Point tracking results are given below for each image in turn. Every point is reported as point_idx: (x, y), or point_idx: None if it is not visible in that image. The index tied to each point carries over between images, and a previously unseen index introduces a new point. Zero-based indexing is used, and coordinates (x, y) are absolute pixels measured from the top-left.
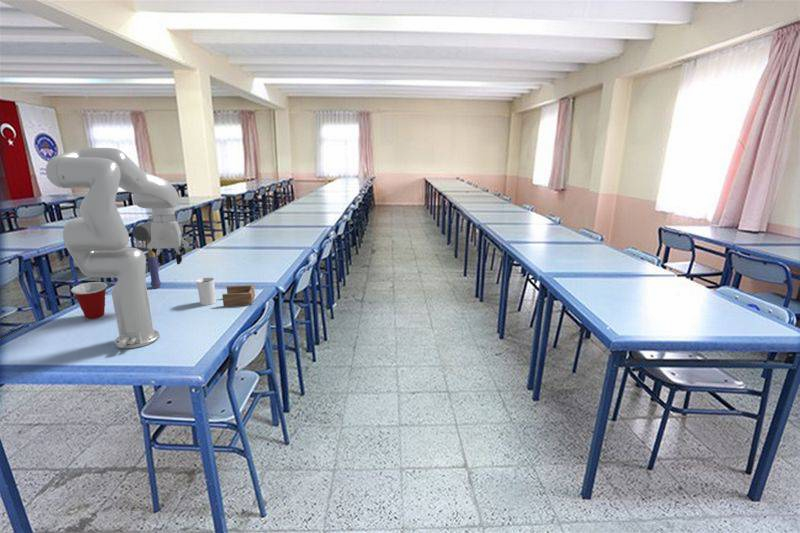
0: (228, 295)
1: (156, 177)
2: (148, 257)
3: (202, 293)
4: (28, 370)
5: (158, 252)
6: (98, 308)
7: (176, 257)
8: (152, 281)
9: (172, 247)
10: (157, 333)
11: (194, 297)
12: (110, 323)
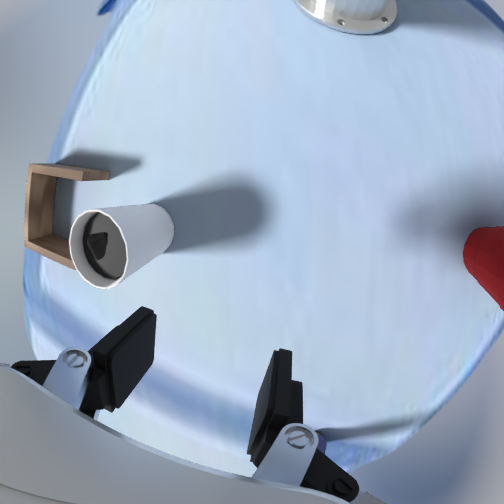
0: (71, 169)
1: None
2: None
3: (138, 210)
4: (485, 6)
5: (287, 449)
6: (489, 232)
7: (120, 341)
8: (322, 448)
9: (47, 396)
10: None
11: (197, 311)
12: (446, 160)
